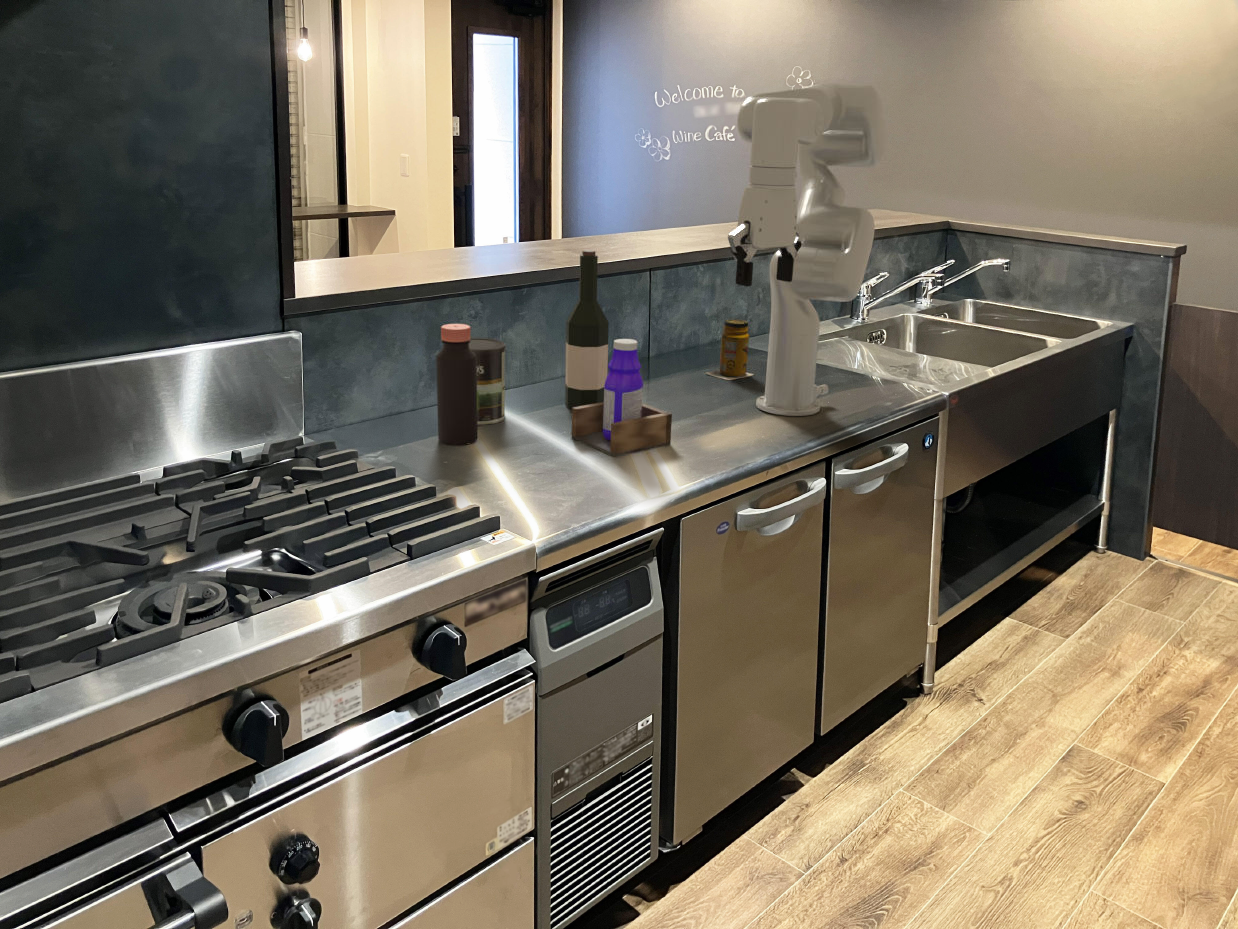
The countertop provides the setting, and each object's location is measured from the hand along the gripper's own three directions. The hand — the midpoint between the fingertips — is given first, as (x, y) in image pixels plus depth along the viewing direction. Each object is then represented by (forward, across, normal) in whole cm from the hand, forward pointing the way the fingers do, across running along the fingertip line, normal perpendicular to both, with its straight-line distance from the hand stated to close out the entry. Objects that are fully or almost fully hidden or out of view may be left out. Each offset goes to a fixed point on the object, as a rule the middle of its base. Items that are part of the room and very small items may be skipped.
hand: (764, 282), depth 176 cm
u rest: (+28, +20, -13) cm, 37 cm away
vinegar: (+28, +43, -29) cm, 59 cm away
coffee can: (+28, +33, -39) cm, 58 cm away
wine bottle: (+28, +11, -35) cm, 46 cm away
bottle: (+28, +19, -13) cm, 36 cm away
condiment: (+29, -31, -38) cm, 57 cm away
